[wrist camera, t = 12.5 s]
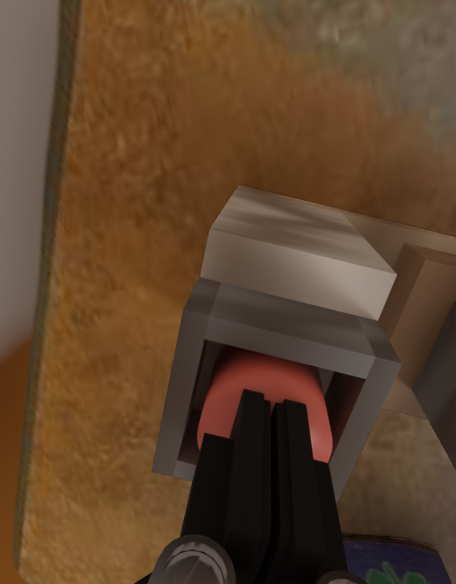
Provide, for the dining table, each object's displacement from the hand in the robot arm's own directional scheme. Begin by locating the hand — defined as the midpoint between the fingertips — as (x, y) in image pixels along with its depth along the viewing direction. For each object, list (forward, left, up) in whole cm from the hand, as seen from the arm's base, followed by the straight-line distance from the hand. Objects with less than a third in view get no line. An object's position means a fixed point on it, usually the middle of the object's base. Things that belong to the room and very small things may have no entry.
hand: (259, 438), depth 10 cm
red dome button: (0, 0, -3) cm, 3 cm away
